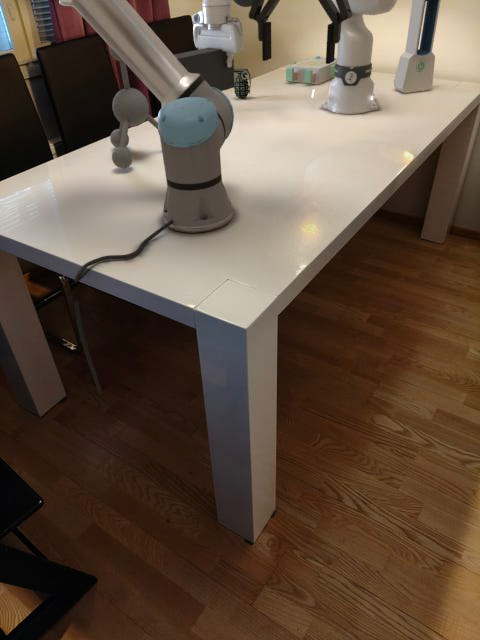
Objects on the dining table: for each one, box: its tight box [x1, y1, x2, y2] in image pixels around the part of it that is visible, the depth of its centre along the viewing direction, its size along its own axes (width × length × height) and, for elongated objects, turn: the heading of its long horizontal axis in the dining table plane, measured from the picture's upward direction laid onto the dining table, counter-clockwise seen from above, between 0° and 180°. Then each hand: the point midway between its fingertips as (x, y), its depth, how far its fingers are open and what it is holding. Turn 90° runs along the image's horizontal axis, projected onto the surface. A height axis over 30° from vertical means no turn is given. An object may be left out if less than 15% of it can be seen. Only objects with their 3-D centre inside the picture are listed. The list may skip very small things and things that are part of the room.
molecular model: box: [108, 45, 158, 169], centre depth 132 cm, size 24×22×30 cm
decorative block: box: [285, 55, 337, 85], centre depth 205 cm, size 26×6×20 cm
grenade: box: [233, 68, 252, 100], centre depth 184 cm, size 7×6×10 cm
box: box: [173, 48, 235, 92], centre depth 155 cm, size 23×6×12 cm, turn 136°
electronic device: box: [393, 0, 442, 94], centre depth 176 cm, size 12×8×30 cm, turn 105°
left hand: (297, 61), depth 97 cm, fingers open, 13 cm apart
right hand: (220, 65), depth 159 cm, fingers closed on box, 6 cm apart
